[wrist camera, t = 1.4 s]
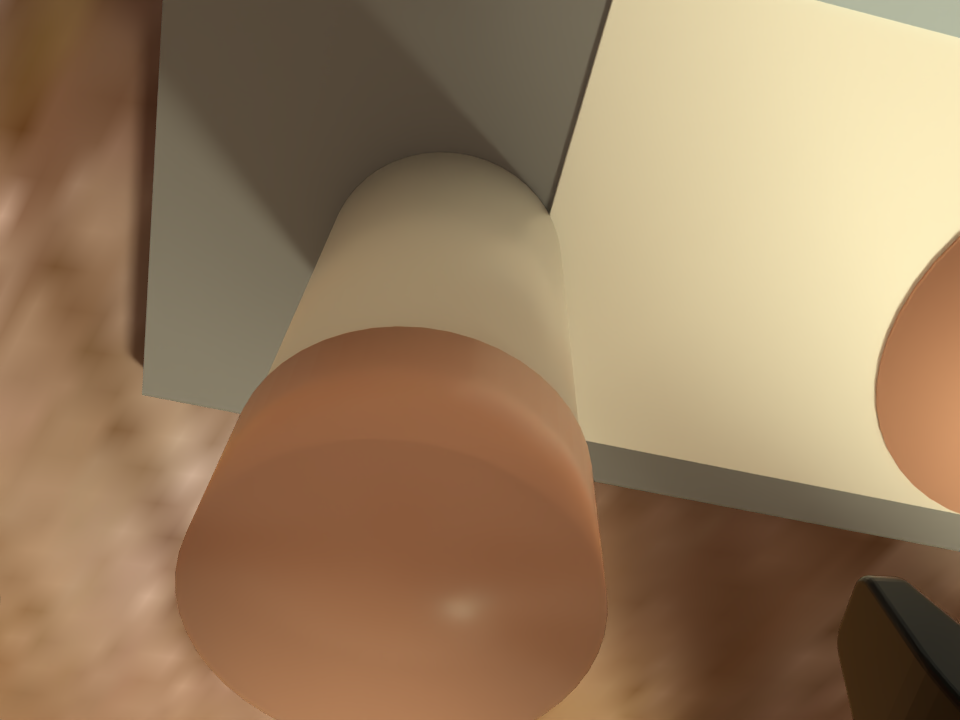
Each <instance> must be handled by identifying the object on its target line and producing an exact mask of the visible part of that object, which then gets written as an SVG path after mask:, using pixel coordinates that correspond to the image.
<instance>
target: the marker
mask: <svg viewBox="0 0 960 720" xmlns="http://www.w3.org/2000/svg"><path fill="white" fill-rule="evenodd" d="M175 593H176V598H177V604H178V609H179V614H180V616H181V619H182V622H183V625H184V627H185V630H186V633H187V634H188V636H189V638H190V640H191V642H192V643H193V645H194V647H195V649H196V651H197V652H198V654H199V655H200V656H201V658H202V659H203V660H204V662H205V663H206V664H207V665H208V667H209V668H210V669H211V670H212V671H213V672H214V673H215V674H216V676H217V677H218V678H219V679H220V680H221V681H222V682H223V683H224V684H225V685H226V686H228V687H229V688H230V689H231V690H232V691H234V692H235V693H236V694H237V695H239V696H240V697H241V698H242V699H243V700H245V701H246V702H248V703H249V704H251V705H253V706H254V707H256V708H257V709H259V710H260V711H262V712H263V713H265V714H267V715H269V716H271V717H273V718H275V719H276V720H535V719H537V718H539V717H541V716H542V715H544V714H545V713H547V712H548V711H549V710H551V709H552V708H553V707H555V706H556V705H557V704H559V703H560V702H561V701H562V700H563V699H564V698H565V697H566V696H567V695H569V694H570V693H571V692H572V691H573V690H574V689H575V688H576V687H577V685H578V684H579V683H580V681H581V680H582V679H583V677H584V676H585V675H586V674H587V672H588V671H589V669H590V667H591V665H592V664H593V662H594V660H595V658H596V656H597V654H598V652H599V649H600V646H601V643H602V640H603V637H604V635H605V628H606V621H607V615H608V614H607V591H606V583H605V574H604V566H603V557H602V549H601V540H600V531H599V523H598V514H597V506H596V497H595V489H594V480H593V472H592V464H591V459H590V454H589V450H588V445H587V443H586V440H585V437H584V435H583V432H582V430H581V427H580V425H579V423H578V413H577V404H576V394H575V384H574V375H573V365H572V355H571V346H570V336H569V326H568V317H567V307H566V297H565V288H564V278H563V268H562V259H561V249H560V244H559V239H558V235H557V232H556V229H555V226H554V224H553V221H552V219H551V217H550V215H549V214H548V212H547V210H546V208H545V207H544V205H543V204H542V202H541V201H540V200H539V198H538V197H537V196H536V195H535V194H534V193H533V191H532V190H531V189H530V188H529V187H528V186H527V185H526V184H524V183H523V182H522V181H521V180H520V179H518V178H517V177H516V176H515V175H513V174H511V173H510V172H508V171H507V170H505V169H503V168H502V167H500V166H498V165H495V164H493V163H491V162H489V161H487V160H483V159H480V158H477V157H474V156H470V155H464V154H458V153H445V152H436V153H424V154H419V155H414V156H409V157H406V158H403V159H400V160H397V161H395V162H392V163H390V164H388V165H386V166H384V167H382V168H380V169H379V170H377V171H376V172H374V173H373V174H372V175H370V176H369V177H367V178H366V179H365V180H364V181H363V182H362V183H361V184H360V185H359V186H358V187H357V188H355V190H354V191H353V192H352V194H351V195H350V196H349V197H348V199H347V200H346V202H345V203H344V205H343V207H342V208H341V210H340V212H339V214H338V216H337V218H336V221H335V223H334V225H333V228H332V230H331V232H330V234H329V237H328V239H327V241H326V244H325V246H324V248H323V250H322V253H321V255H320V257H319V259H318V262H317V264H316V266H315V269H314V271H313V273H312V275H311V278H310V280H309V282H308V284H307V287H306V289H305V291H304V294H303V296H302V298H301V300H300V303H299V305H298V307H297V309H296V312H295V314H294V316H293V319H292V321H291V323H290V325H289V328H288V330H287V332H286V335H285V337H284V339H283V341H282V344H281V346H280V348H279V350H278V353H277V355H276V357H275V360H274V362H273V364H272V366H271V369H270V371H269V373H268V375H267V377H266V378H265V379H264V380H263V381H262V382H261V384H260V385H259V386H258V387H257V388H256V390H255V391H254V392H253V393H252V395H251V396H250V398H249V400H248V401H247V403H246V405H245V406H244V408H243V410H242V412H241V414H240V416H239V418H238V421H237V423H236V425H235V427H234V429H233V431H232V434H231V436H230V438H229V440H228V442H227V445H226V447H225V449H224V451H223V453H222V456H221V458H220V460H219V462H218V464H217V467H216V469H215V471H214V473H213V475H212V478H211V480H210V482H209V484H208V486H207V488H206V491H205V493H204V495H203V497H202V499H201V502H200V504H199V506H198V508H197V510H196V513H195V515H194V517H193V519H192V521H191V524H190V526H189V528H188V530H187V532H186V535H185V538H184V540H183V543H182V545H181V548H180V551H179V555H178V560H177V566H176V571H175Z"/></svg>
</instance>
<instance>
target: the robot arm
mask: <svg viewBox="0 0 960 720" xmlns="http://www.w3.org/2000/svg"><path fill="white" fill-rule="evenodd" d="M837 646H838V654H839V659H840V663H841V668H842V672H843V677H844V681H845V686H846V690H847V694H848V699H849V703H850V708H851V712H852V717H853V720H960V624H959V623H958V622H956V621H955V620H954V619H953V618H952V617H950V616H949V615H948V614H947V613H945V612H944V611H943V610H942V609H940V608H939V607H938V606H937V605H936V604H934V603H933V602H932V601H931V600H929V599H928V598H927V597H926V596H925V595H923V594H922V593H921V592H920V591H918V590H917V589H916V588H915V587H914V586H912V585H911V584H910V583H908V582H907V581H905V580H904V579H902V578H898V577H887V576H864V577H862V578H860V579H859V580H858V581H857V583H856V585H855V587H854V590H853V592H852V595H851V598H850V600H849V603H848V606H847V609H846V611H845V614H844V617H843V619H842V622H841V625H840V628H839V631H838V638H837Z"/></svg>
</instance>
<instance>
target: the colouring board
mask: <svg viewBox="0 0 960 720" xmlns="http://www.w3.org/2000/svg"><path fill="white" fill-rule="evenodd" d="M436 152H445V153H458V154H464V155H470V156H474V157H477V158H480V159H483V160H487V161H489V162H491V163H493V164H495V165H498V166H500V167H502V168H503V169H505V170H507V171H508V172H510V173H511V174H513V175H515V176H516V177H517V178H518V179H520V180H521V181H522V182H523V183H524V184H526V185H527V186H528V187H529V188H530V189H531V190H532V191H533V193H534V194H535V195H536V196H537V197H538V198H539V200H540V201H541V202H542V204H543V205H544V207H545V208H546V210H547V212H548V214H549V215H550V217H551V219H552V221H553V224H554V226H555V229H556V232H557V235H558V239H559V244H560V249H561V259H562V268H563V278H564V288H565V297H566V307H567V317H568V326H569V336H570V346H571V355H572V365H573V375H574V384H575V394H576V404H577V413H578V423H579V425H580V427H581V430H582V432H583V435H584V437H585V440H586V443H587V445H588V450H589V454H590V459H591V464H592V472H593V480H594V482H599V483H604V484H610V485H615V486H620V487H625V488H631V489H636V490H641V491H646V492H651V493H657V494H662V495H667V496H672V497H678V498H683V499H688V500H693V501H698V502H704V503H709V504H714V505H719V506H724V507H730V508H735V509H740V510H745V511H751V512H756V513H761V514H766V515H771V516H777V517H782V518H787V519H792V520H798V521H803V522H808V523H813V524H818V525H824V526H829V527H834V528H839V529H845V530H850V531H855V532H860V533H865V534H871V535H876V536H881V537H886V538H891V539H897V540H902V541H907V542H912V543H918V544H923V545H928V546H933V547H938V548H944V549H949V550H954V551H959V552H960V0H163V4H162V23H161V42H160V61H159V81H158V100H157V119H156V138H155V157H154V177H153V196H152V215H151V234H150V253H149V273H148V292H147V311H146V330H145V349H144V369H143V388H142V395H145V396H150V397H156V398H161V399H166V400H171V401H176V402H182V403H187V404H192V405H197V406H203V407H208V408H213V409H218V410H223V411H229V412H234V413H239V414H241V412H242V410H243V408H244V406H245V405H246V403H247V401H248V400H249V398H250V396H251V395H252V393H253V392H254V391H255V390H256V388H257V387H258V386H259V385H260V384H261V382H262V381H263V380H264V379H265V378H266V377H267V375H268V373H269V371H270V369H271V366H272V364H273V362H274V360H275V357H276V355H277V353H278V350H279V348H280V346H281V344H282V341H283V339H284V337H285V335H286V332H287V330H288V328H289V325H290V323H291V321H292V319H293V316H294V314H295V312H296V309H297V307H298V305H299V303H300V300H301V298H302V296H303V294H304V291H305V289H306V287H307V284H308V282H309V280H310V278H311V275H312V273H313V271H314V269H315V266H316V264H317V262H318V259H319V257H320V255H321V253H322V250H323V248H324V246H325V244H326V241H327V239H328V237H329V234H330V232H331V230H332V228H333V225H334V223H335V221H336V218H337V216H338V214H339V212H340V210H341V208H342V207H343V205H344V203H345V202H346V200H347V199H348V197H349V196H350V195H351V194H352V192H353V191H354V190H355V188H357V187H358V186H359V185H360V184H361V183H362V182H363V181H364V180H365V179H366V178H367V177H369V176H370V175H372V174H373V173H374V172H376V171H377V170H379V169H380V168H382V167H384V166H386V165H388V164H390V163H392V162H395V161H397V160H400V159H403V158H406V157H409V156H414V155H419V154H424V153H436Z"/></svg>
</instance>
